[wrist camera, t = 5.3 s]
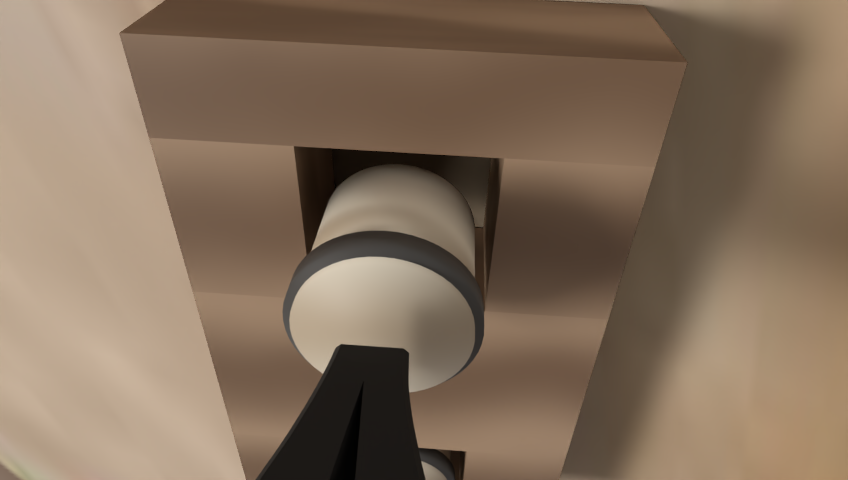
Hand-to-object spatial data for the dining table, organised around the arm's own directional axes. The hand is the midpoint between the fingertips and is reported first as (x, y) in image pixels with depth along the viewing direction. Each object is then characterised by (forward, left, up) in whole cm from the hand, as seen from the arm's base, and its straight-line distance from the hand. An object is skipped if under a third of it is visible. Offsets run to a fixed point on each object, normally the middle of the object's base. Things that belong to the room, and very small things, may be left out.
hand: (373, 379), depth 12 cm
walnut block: (-6, 0, -9) cm, 11 cm away
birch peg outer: (0, 0, -5) cm, 5 cm away
